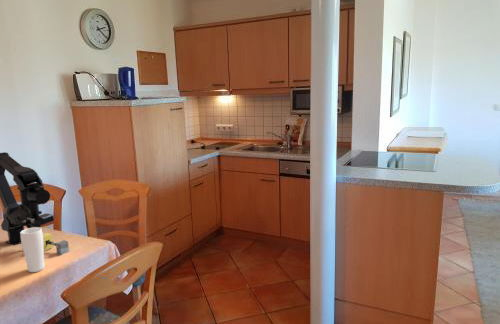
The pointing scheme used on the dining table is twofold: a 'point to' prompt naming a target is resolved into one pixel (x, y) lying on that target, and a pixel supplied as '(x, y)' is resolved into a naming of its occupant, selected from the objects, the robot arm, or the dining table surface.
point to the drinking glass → (33, 248)
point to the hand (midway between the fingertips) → (34, 237)
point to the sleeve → (47, 238)
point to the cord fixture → (60, 246)
